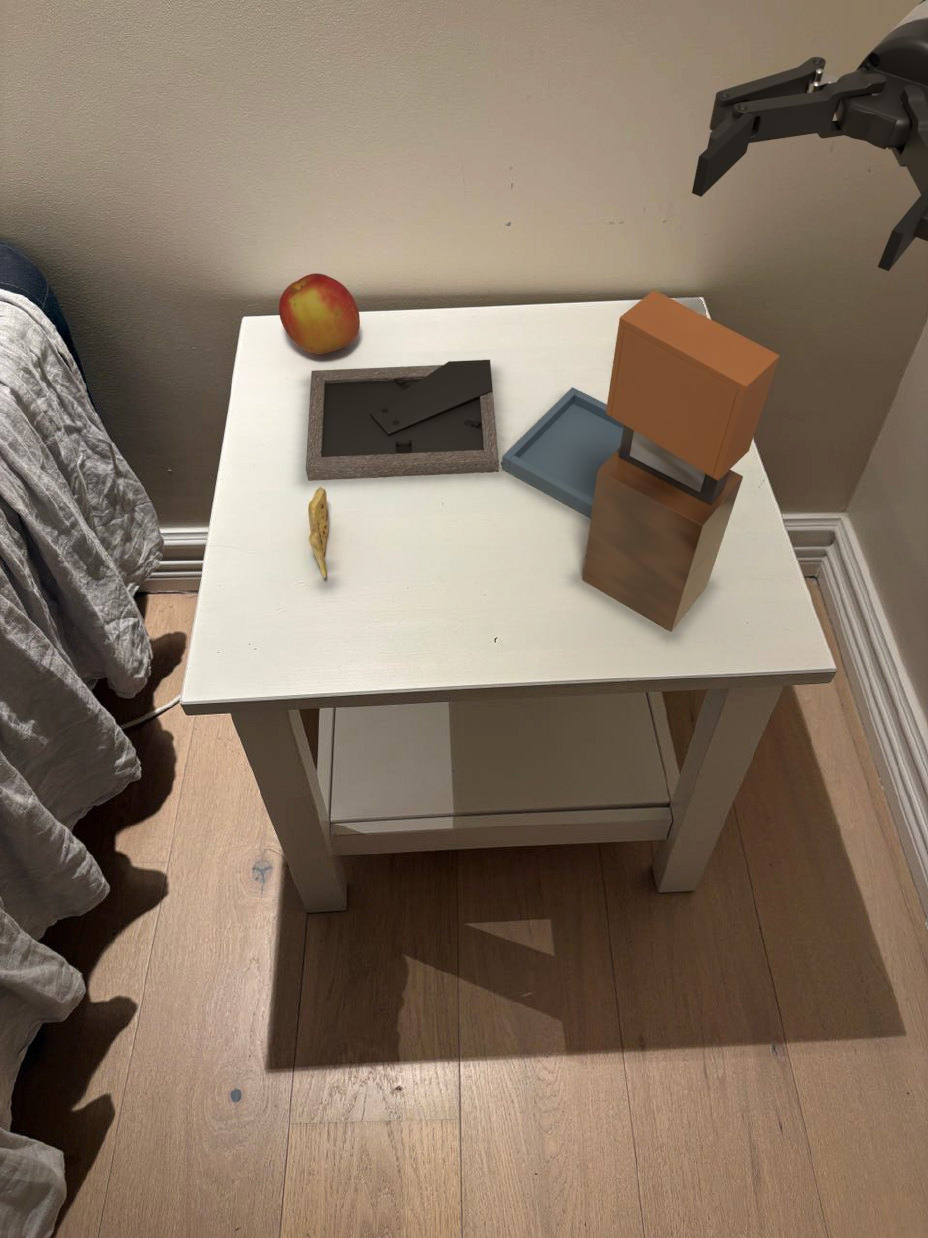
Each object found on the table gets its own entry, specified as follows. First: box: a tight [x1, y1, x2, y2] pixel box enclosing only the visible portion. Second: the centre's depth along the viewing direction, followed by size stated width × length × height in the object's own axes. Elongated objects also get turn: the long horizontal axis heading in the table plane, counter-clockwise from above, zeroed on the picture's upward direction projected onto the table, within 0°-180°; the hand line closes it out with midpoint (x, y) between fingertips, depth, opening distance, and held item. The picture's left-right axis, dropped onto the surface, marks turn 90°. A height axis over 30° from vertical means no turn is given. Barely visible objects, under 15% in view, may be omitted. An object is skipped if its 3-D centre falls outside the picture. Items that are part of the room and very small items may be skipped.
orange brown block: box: [606, 289, 781, 481], centre depth 66 cm, size 10×4×9 cm, turn 47°
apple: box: [278, 273, 361, 355], centre depth 98 cm, size 8×8×8 cm
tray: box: [501, 387, 624, 519], centre depth 91 cm, size 14×12×2 cm
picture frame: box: [305, 359, 500, 481], centre depth 94 cm, size 13×2×18 cm
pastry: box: [307, 486, 329, 579], centre depth 85 cm, size 9×2×5 cm, turn 4°
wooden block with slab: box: [581, 425, 744, 632], centre depth 73 cm, size 9×6×26 cm, turn 52°
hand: (791, 212), depth 63 cm, fingers open, 13 cm apart
